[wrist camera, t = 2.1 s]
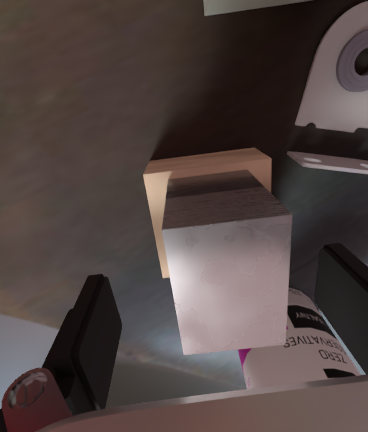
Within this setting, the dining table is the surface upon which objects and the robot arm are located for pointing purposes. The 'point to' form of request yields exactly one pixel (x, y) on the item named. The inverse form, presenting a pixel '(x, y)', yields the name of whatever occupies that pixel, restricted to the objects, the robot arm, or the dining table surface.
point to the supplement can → (298, 350)
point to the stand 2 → (195, 166)
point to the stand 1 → (241, 5)
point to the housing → (227, 261)
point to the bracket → (337, 89)
